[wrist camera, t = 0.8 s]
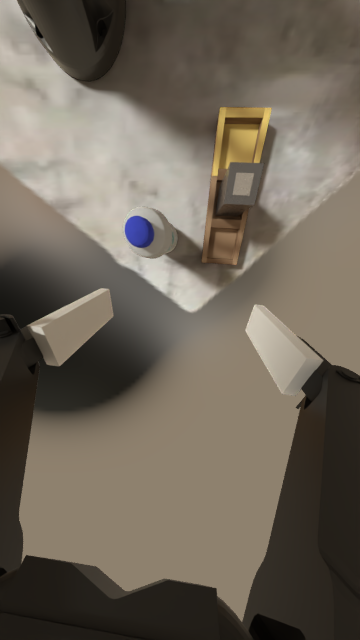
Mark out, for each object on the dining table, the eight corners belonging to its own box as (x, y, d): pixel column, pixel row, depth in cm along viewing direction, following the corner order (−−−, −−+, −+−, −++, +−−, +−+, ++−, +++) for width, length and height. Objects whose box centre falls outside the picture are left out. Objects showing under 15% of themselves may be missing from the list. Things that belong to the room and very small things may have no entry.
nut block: (219, 187, 28) (230, 161, 19) (242, 188, 28) (264, 162, 19) (215, 215, 30) (224, 203, 22) (236, 216, 30) (254, 204, 21)
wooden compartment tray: (217, 119, 25) (220, 107, 23) (264, 120, 25) (271, 107, 22) (201, 261, 36) (201, 262, 33) (233, 263, 35) (236, 264, 33)
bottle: (184, 230, 33) (173, 213, 15) (172, 258, 36) (152, 272, 18) (157, 215, 32) (113, 179, 14) (147, 246, 35) (101, 247, 18)
